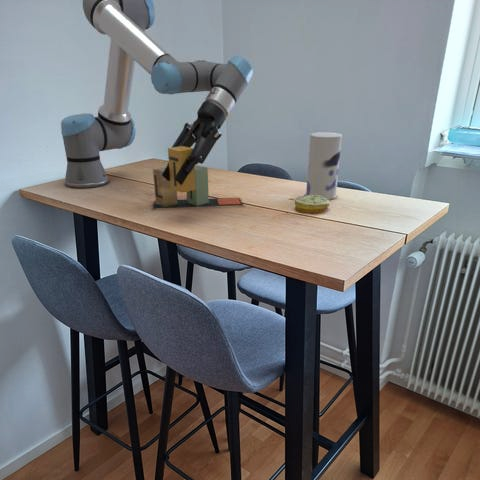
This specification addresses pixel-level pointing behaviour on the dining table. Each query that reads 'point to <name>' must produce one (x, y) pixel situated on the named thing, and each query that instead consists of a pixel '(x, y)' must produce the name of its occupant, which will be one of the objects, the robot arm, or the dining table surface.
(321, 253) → the dining table surface
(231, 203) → the word mat
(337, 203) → the dining table surface
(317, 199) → the decorated donut
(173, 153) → the tall mustard brick
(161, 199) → the tan tall block
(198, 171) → the sage I block
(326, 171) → the container
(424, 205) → the dining table surface
